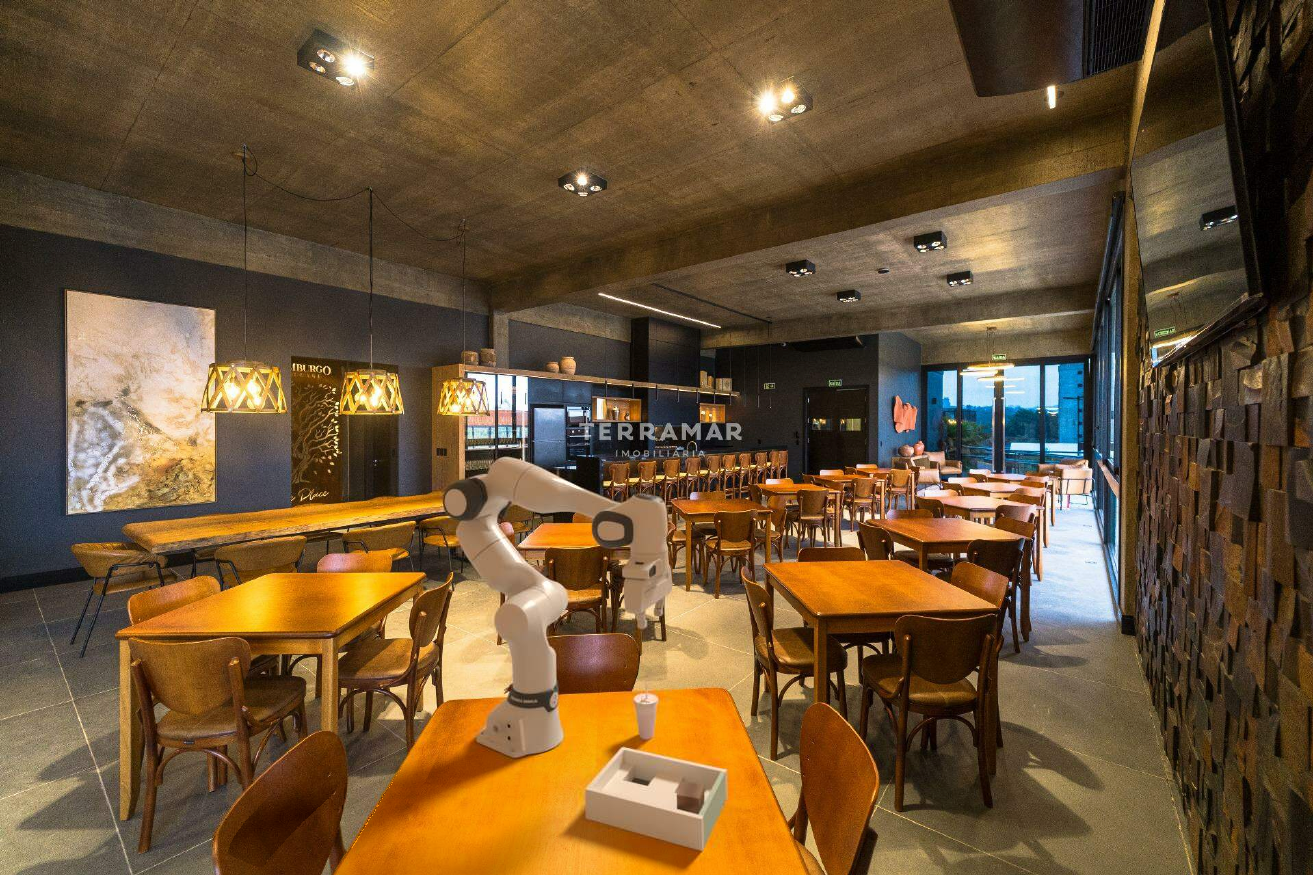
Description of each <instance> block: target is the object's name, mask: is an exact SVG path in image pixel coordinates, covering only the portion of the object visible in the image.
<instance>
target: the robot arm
mask: <svg viewBox="0 0 1313 875" xmlns="http://www.w3.org/2000/svg"><path fill="white" fill-rule="evenodd" d="M513 504H514V505H516V506H519V507H521V508H522V509H525V510H528V511H531V512H534V513H539V514H550V513H560V512H561V513H562V512H563V513H564V512H570V513H577V514H581V515H584V516H586V517H588V518H591V519H592V523H591V534H592V537H593V539H594V540H595V542H596V543H597V544H598V545H599V546H600V547H602V548H604V549H617V548H621V547H629V548H630V557H629V558H628V561H627V562H626V564H625V565H624V566H623V568H622V569H621V574H622V578H625V579H624V581H623V601H624V602H623V604H624V608H625V611H626V612H627V613H630V614H634V616H635V618H636V621H637V628H638V629H641V630H645V629H646V628H647V627H648V619H646V616H645V615H646V612H647V611H646V610H647V609H649V608H651V607H652V606H653V605H654V608H653V616H654V617H661V616H663V614H664V609H663V608H664V604H665V601H666V598H665V597H666V596H667V595H669V594H670V593H671V592H672V588H673V578H672V569H671V568H672V566H671V565H670V564H669V547H668V544H667V537H668V530H669V529H668V526H669V525H668V514H667V506H666V503H665V501H664V500H663V499H662V498H661V497H660V496H658V495H655V494H653V493H652V494H651V493H635V494H634V495H632V496H631V497H629V498H628V499H627V500H624V501H618V500H614V499H612V498H608V497H605V496H603V495H601V494H598V493H596V492H594V491H591V490H588V489H586V488H584V487H580V486H578V485H576V484H574V483H572V482H570V481H568V480H566V479H564V478H561V477H560V476H558V475H556V474H554V473H552V472H550V471H548V470H547V469H544V468H543V467H540V466H539V465H535V464H533V463H531V462H528V461H527V460H525V461H524V460H523V459H519V458H515V457H509V456H503V457H500V458H498V459H496V460H495V461H494V462H493V463H492V464H491V466H490V468H489V469H488V471H487V473H485V474H484V473H483V474H477V475H474V476H471V477H467V478H461V479H459V480H457V481H454V482H452V483H451V484H449V485H448V486H447V487H446V488H445V490H444V492H443V495H442V506H443V510H444V512H445V513H446V515H447V516H448V517H449V518H451V519H452V520H454V521H457V522H459V523H458V525H457V526H456V531H455V536H456V539H457V542H458V544H459V545H460V547H461V549H462V551H463V552H464V554H465V556H466V558H467V559H468V561H469V562H470V564H471V565H472V567H473V568H474V569H475V570H476V571H477V574H479V576H480V577H481V579H482V580H483V581H484V582H485V584H486V586H487V587H489V588H490V589H492V590H494V591H497V592H500V593H502V594H503V595H505V596H507V597H508V598H507V599H506V600H505V601H504V602H503V603H502V604H501V605H500V606H499V607H498V608H497V610H496V611H495V614H494V619H493V623H494V628H495V631H496V632H497V634H498V636H499V637H500V638H501V639H503V640H504V641H506V644H507V646H508V648H509V652H510V656H511V666H512V667H511V668H512V669H511V670H512V671H511V672H512V683H510V684H509V685H508V686H507V687H506V688H505V689H503V691H504V692H503V695H506V694H507V693H508V695H507V697H506V698H505V699H504V700H502V701H501V702H500V703H499V704H498V705H496V706H495V707H494V708H493V709H492V710H490V712H489V713H488V715H487V717H486V718H487V719H486V723H485V726H484V727H483V728H482V729H480V731H479V732H478V733H477V735H476V738H475V741H476V743H478V744H480V745H483V746H485V747H486V748H487V747H488V748H490V749H492V750H494V751H496V752H499V753H501V754H503V755H505V756H508V757H511V758H512V759H517V758H521V757H524V756H526V755H534V754H538V753H543V752H546V751H549V750H551V749H553V748H555V747H557V746H558V745H559V744H561V742H563V739H564V735H565V734H564V731H563V728H562V723H561V720H560V715H559V714H560V713H559V682H558V680H557V653H556V650H555V649H554V648H553V647H552V646H550V643H549V641H548V637H547V628H548V626H550V625H551V624H552V623H554V622H556V621H557V620H558V619H559V618H560V617H561V616H562V614H563V613H564V612H565V611H566V609H567V607H568V604H569V595H568V592H567V589H566V588H565V586H563V585H562V584H561V583H559V582H558V581H555V580H551V579H550V578H548V577H546V576H545V575H543V574H542V573H540V572H539V571H538V570H537V569H535V568H534V567H533V566H532V565H531V564H529V563H528V562H527V561H526V559H524V557H523V556H522V555H521V554H520V552H519V551H518V550H517V549H516V548H515V546H514V545H513V543H512V542H511V540H509V538H508V537H507V536H506V535H505V533H504V532H503V531H502V529H501V527H500V526H499V524H498V519H501V518H503V517H505V515H506V514H507V511H508V509H509V508H510V507H511V506H512V505H513Z"/></svg>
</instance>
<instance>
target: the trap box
mask: <svg viewBox="0 0 1313 875" xmlns="http://www.w3.org/2000/svg"><path fill="white" fill-rule="evenodd" d="M682 781H684V782H690V783H696V784H702V785H704V802H705V803H704V805H703V807H702V809H701V811H700V812H699V814H694V813H690V812H686V811H682V810H678V809H677V793H678V791H679V788H680V786H681V784H682ZM584 795H585V796H584V797H585V798H584V802H585V806H584V807H585V819H586V820H589V821H594V822H596V823H600V824H604V825H607V826H611V827H614V828H615V827H616V828H618V829H622V830H624V831H629V832H632V833H636V834H640V835H643V836H645V837H646V836H647V837H650V838H653V839H658V840H661V841H664V842H668V843H672V844H675V845H678V846H682V847H686V848H689V849H692V850H696V851H700V852H703V851H704V849H705V847H706V844H707V842H708V840H709V838H710V835H711V833H712V831H713V829H714V827H715V825H716V823H717V820H718V818H719V816H720V815H721V812H722V811H723V807H724V806H725V803H726V802H727V799H728V770H727V769H726V768H720V767H716V766H710V765H708V764H707V765H705V764H702V763H698V762H693V761H688V760H684V759H679V758H674V757H670V756H665V755H660V754H655V753H653V752H647V751H643V750H638V749H633V748H629V747H625V746H622V747H621V748H620V749H618V751H617V752H616V753H615V754H614V756H612V758H611V759H610V760H609V761H608V762H607V764H606V765H605V766H604V767H603V768H602V769H601V770H600V771H599V772H598V774H597V775H596V776H595V777H594V778H593V779H592V781H590V782H589V784H588V785H587V786H586V788H584Z"/></svg>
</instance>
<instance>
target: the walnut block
mask: <svg viewBox="0 0 1313 875" xmlns="http://www.w3.org/2000/svg"><path fill="white" fill-rule="evenodd" d="M704 803H705V802H704V785H702V784H696V783H690V782H684V781H682V784H681V786H680V788H679V791H678V793H677V809H678V810H682V811H686V812H690V813H694V814H699V812H700V811H701V809H702V807H703V805H704Z"/></svg>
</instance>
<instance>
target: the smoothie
mask: <svg viewBox="0 0 1313 875" xmlns="http://www.w3.org/2000/svg"><path fill="white" fill-rule="evenodd" d="M644 683H645V684H644V685H645V687H644V688H645V693H639V694H637V695H636V696H634V698H633V704H634V707H635V713H636V714H635V715H636V721H637V722H636V723H637V728H638V735H639V738H640V739H642V740H651V739H653V737H654V734H655V727H656V726H655V725H656V716H657V705H658V704H659V697H658V696H657V695H655V694H653V693H649V692H648V691H649V690H648V682H647V681H646V682H644Z"/></svg>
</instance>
